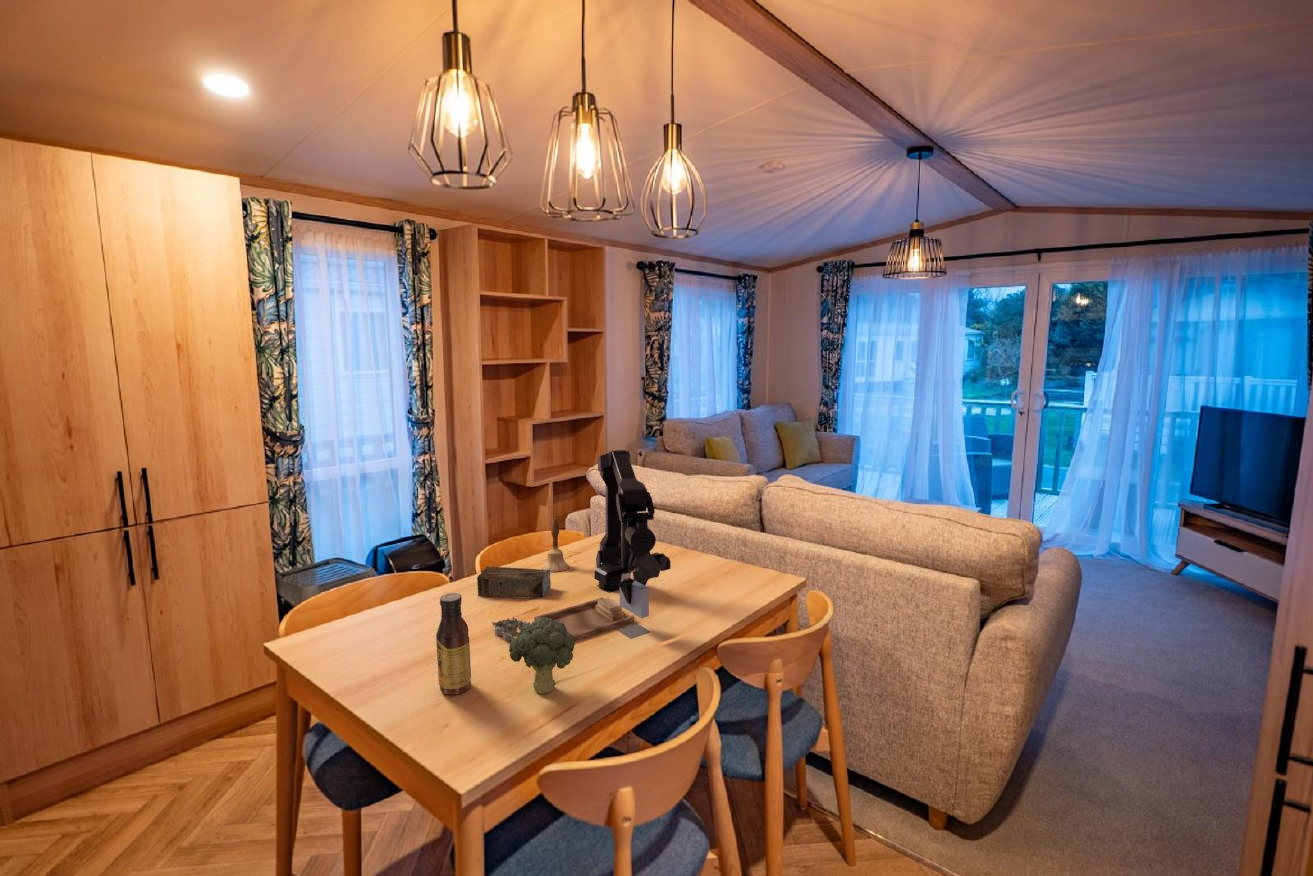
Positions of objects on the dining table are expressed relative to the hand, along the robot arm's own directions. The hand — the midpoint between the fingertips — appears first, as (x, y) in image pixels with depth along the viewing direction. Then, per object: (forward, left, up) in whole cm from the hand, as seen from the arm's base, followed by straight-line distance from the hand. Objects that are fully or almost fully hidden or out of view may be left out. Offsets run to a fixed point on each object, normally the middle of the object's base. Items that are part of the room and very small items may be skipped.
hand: (633, 602), depth 147 cm
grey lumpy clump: (+24, -15, -8) cm, 29 cm away
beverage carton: (+13, -41, -8) cm, 43 cm away
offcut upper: (0, -11, -6) cm, 13 cm away
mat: (0, 0, -8) cm, 8 cm away
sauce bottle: (+43, -1, -8) cm, 44 cm away
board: (0, 0, -2) cm, 2 cm away
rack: (+7, -11, -8) cm, 15 cm away
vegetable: (+29, +10, -8) cm, 32 cm away
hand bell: (-6, -51, -8) cm, 52 cm away
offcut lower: (0, -11, -7) cm, 13 cm away
